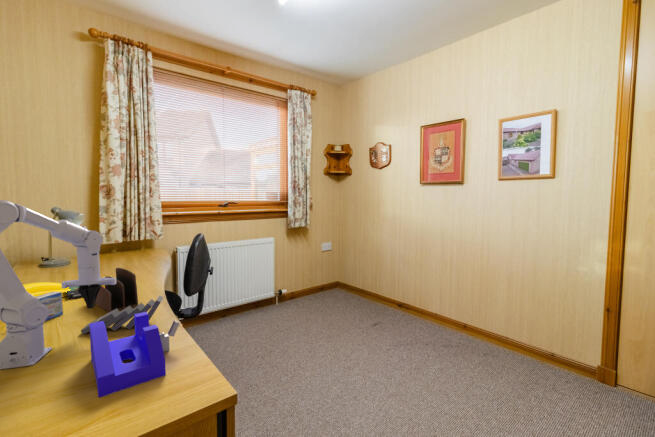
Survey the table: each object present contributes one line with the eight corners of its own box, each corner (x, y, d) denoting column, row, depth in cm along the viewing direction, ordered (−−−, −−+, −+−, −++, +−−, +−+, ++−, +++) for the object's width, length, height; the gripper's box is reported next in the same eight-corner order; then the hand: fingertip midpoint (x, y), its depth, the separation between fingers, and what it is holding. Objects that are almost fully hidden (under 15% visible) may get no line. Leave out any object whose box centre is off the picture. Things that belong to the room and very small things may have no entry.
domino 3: (114, 331, 104) (141, 310, 106) (110, 327, 103) (137, 307, 105) (119, 325, 108) (144, 305, 110) (116, 321, 108) (141, 302, 110)
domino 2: (99, 332, 102) (128, 314, 105) (96, 329, 102) (125, 310, 104) (105, 326, 107) (132, 309, 109) (102, 323, 107) (129, 305, 109)
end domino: (144, 328, 106) (160, 302, 107) (139, 326, 106) (156, 300, 107) (148, 322, 111) (163, 297, 112) (143, 320, 111) (159, 295, 111)
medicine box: (40, 323, 110) (38, 298, 109) (30, 321, 111) (28, 297, 110) (63, 314, 118) (62, 292, 117) (54, 313, 119) (52, 291, 118)
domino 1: (83, 334, 101) (114, 317, 103) (80, 330, 101) (111, 313, 103) (90, 328, 106) (119, 312, 108) (87, 324, 106) (116, 308, 108)
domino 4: (129, 329, 105) (152, 306, 106) (125, 326, 105) (148, 303, 106) (134, 323, 110) (155, 301, 111) (130, 320, 109) (151, 298, 111)
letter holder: (119, 296, 139) (117, 265, 138) (138, 306, 127) (137, 272, 126) (92, 302, 131) (90, 269, 130) (110, 314, 119) (108, 277, 118)
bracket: (91, 360, 86) (89, 323, 85) (147, 345, 95) (146, 311, 94) (98, 399, 70) (96, 354, 69) (165, 376, 79) (164, 336, 78)
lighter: (153, 354, 89) (152, 327, 88) (152, 352, 90) (151, 325, 90) (180, 347, 93) (179, 321, 93) (179, 344, 95) (178, 319, 94)
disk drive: (98, 295, 141) (92, 288, 152) (98, 289, 141) (91, 282, 151) (69, 301, 134) (64, 292, 144) (68, 294, 134) (63, 287, 144)
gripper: (118, 262, 108) (120, 301, 109) (68, 265, 104) (70, 305, 105) (111, 267, 102) (113, 308, 103) (57, 270, 97) (59, 313, 98)
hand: (91, 307), depth 103 cm, fingers closed
